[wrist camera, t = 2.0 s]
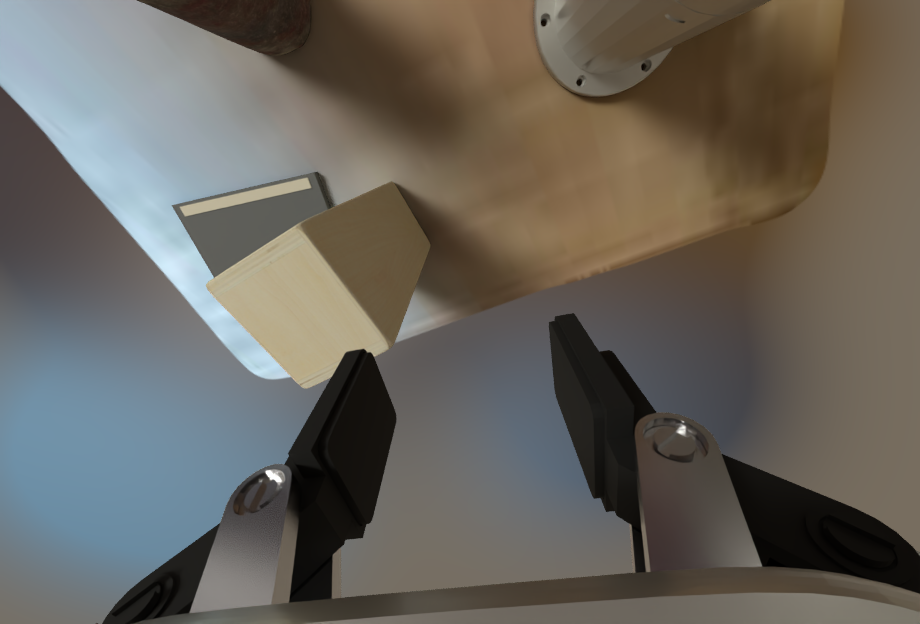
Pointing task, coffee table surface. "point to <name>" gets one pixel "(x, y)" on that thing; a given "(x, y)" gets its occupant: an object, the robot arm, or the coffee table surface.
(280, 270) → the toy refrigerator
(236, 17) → the brown rounded cylinder
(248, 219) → the mat
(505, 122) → the coffee table surface
